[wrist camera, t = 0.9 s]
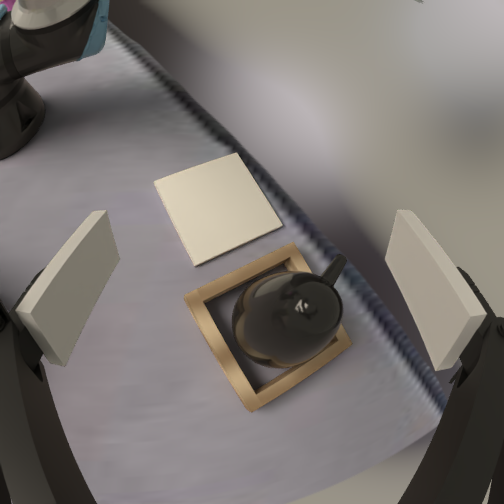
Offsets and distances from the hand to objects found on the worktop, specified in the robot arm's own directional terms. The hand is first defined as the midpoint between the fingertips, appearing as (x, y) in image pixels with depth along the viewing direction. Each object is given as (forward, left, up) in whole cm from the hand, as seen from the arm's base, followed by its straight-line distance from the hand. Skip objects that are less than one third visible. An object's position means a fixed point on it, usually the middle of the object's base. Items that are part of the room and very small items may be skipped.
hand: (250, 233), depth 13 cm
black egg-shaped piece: (+5, +6, -24) cm, 25 cm away
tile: (-12, +8, -24) cm, 28 cm away
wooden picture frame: (+5, +6, -24) cm, 25 cm away
